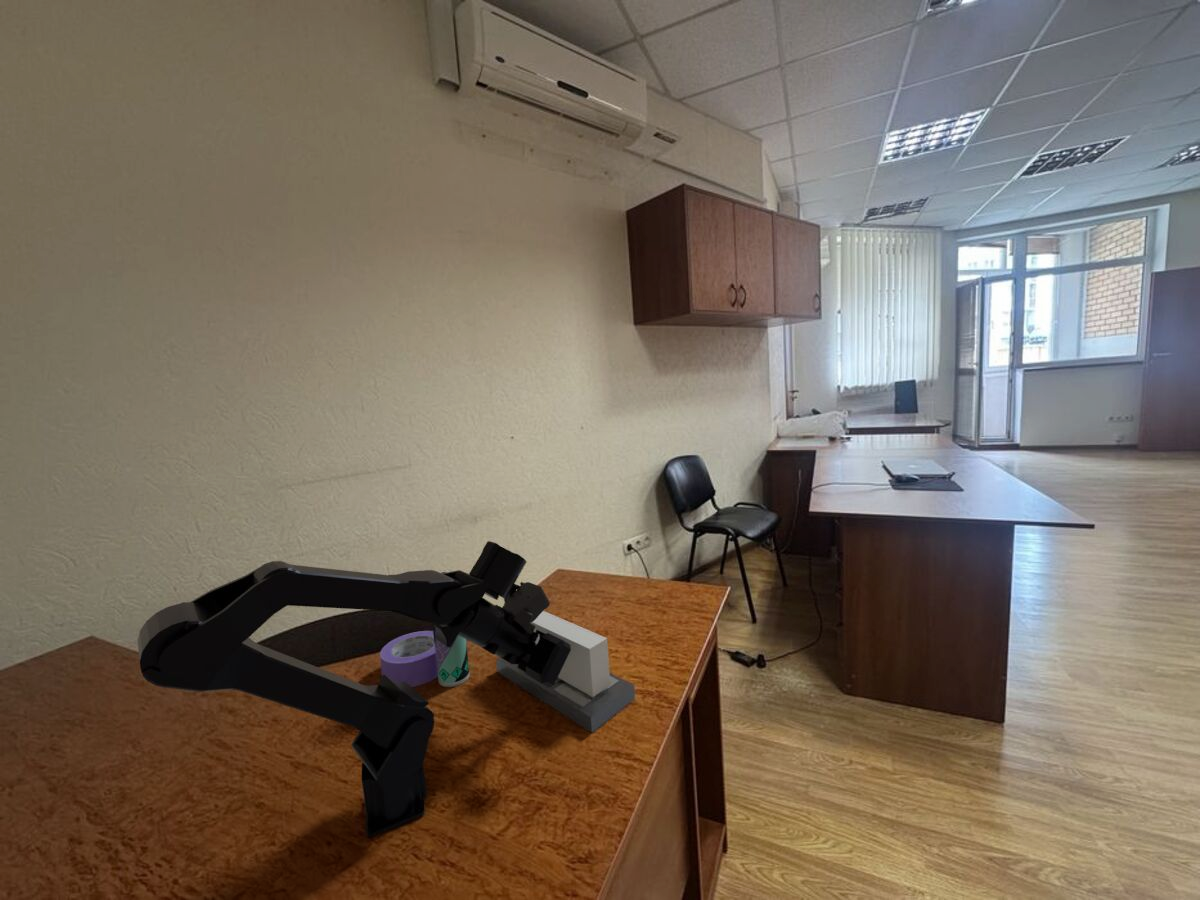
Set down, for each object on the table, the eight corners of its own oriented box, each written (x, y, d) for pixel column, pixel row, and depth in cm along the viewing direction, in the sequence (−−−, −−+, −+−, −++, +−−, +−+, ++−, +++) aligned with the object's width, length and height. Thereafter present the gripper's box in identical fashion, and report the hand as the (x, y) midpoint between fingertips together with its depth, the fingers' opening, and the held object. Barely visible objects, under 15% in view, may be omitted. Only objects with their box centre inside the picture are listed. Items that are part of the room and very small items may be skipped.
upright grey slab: (512, 651, 88) (508, 611, 87) (529, 642, 91) (525, 603, 90) (592, 697, 73) (589, 649, 72) (610, 684, 76) (607, 638, 75)
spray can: (432, 682, 85) (420, 577, 82) (454, 666, 90) (443, 566, 87) (454, 690, 82) (442, 581, 80) (476, 673, 87) (465, 569, 85)
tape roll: (458, 653, 95) (455, 630, 94) (431, 689, 83) (428, 663, 83) (403, 653, 96) (400, 630, 95) (369, 689, 84) (366, 662, 84)
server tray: (592, 732, 70) (590, 716, 69) (497, 671, 87) (495, 658, 87) (634, 699, 77) (634, 683, 76) (539, 648, 94) (538, 636, 94)
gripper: (555, 589, 64) (614, 632, 73) (481, 562, 77) (539, 601, 86) (513, 669, 60) (581, 704, 69) (442, 626, 73) (508, 660, 82)
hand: (551, 662), depth 76 cm, fingers closed
